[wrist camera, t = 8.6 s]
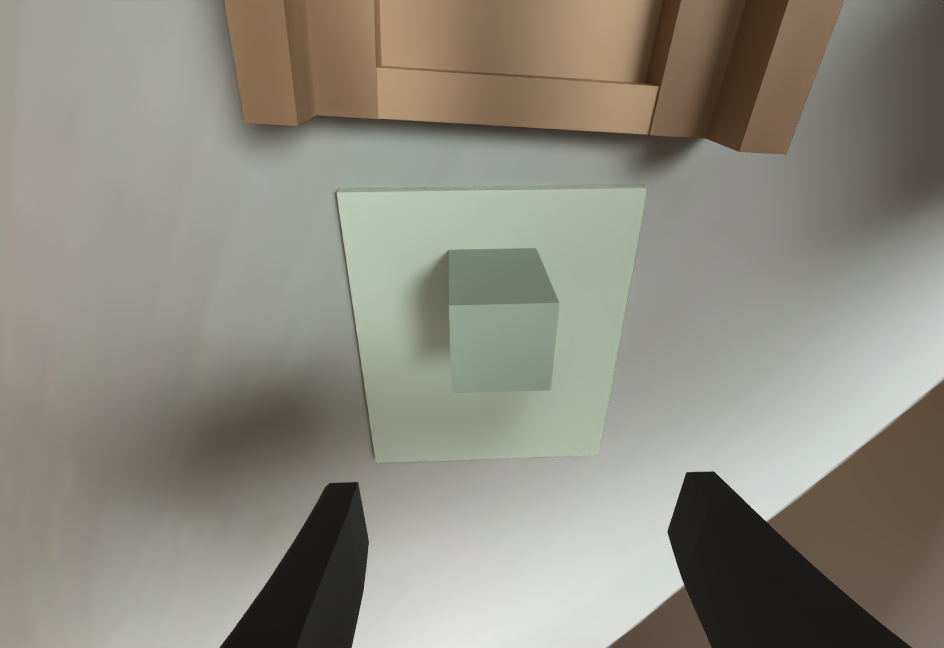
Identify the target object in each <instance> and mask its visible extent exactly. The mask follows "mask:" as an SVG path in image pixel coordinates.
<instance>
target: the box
mask: <svg viewBox="0 0 944 648" xmlns="http://www.w3.org/2000/svg"><path fill="white" fill-rule="evenodd" d="M843 2H844V0H224V4H225V10H226V16H227V22H228V28H229V34H230V40H231V46H232V52H233V58H234V65H235V71H236V77H237V83H238V89H239V95H240V101H241V107H242V113H243V119H244V123H251V124H269V125H286V126H299V125H301V124H302V123H304V122H306V121H307V120H309V119H311V118H313V117H314V116H316V115H319V116H335V117H352V118H369V119H378V118H379V119H395V120H412V121H429V122H446V123H463V124H479V125H496V126H513V127H530V128H547V129H563V130H580V131H597V132H614V133H631V134H647V135H655V136H672V137H689V138H705V139H708V140H711V141H713V142H716V143H718V144H721V145H724V146H726V147H729V148H731V149H734V150H736V151H739V152H753V153H770V154H786V153H787V151H788V148H789V145H790V143H791V140H792V137H793V135H794V132H795V129H796V127H797V124H798V121H799V119H800V116H801V113H802V111H803V108H804V105H805V103H806V100H807V97H808V95H809V92H810V90H811V87H812V84H813V82H814V79H815V76H816V74H817V71H818V68H819V66H820V63H821V60H822V58H823V55H824V52H825V50H826V47H827V44H828V42H829V39H830V36H831V34H832V31H833V28H834V26H835V23H836V20H837V18H838V15H839V13H840V10H841V7H842V5H843Z"/></svg>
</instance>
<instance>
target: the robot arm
mask: <svg viewBox="0 0 944 648" xmlns="http://www.w3.org/2000/svg"><path fill="white" fill-rule="evenodd" d="M668 536H669V539H670V542H671V546H672V549H673V552H674V556H675V559H676V562H677V565H678V568H679V571H680V574H681V577H682V580H683V583H684V585H685V587H686V590H687V592H688V594H689V596H690V599H691V601H692V603H693V606H694V608H695V610H696V613H697V615H698V617H699V620H700V622H701V624H702V626H703V629H704V631H705V633H706V635H707V638H708V640H709V642H710V644H711V647H712V648H912V647H911V646H909V645H908V644H907V643H905V642H904V641H902V640H901V639H900V638H899V637H898V636H896V635H895V634H894V633H892V632H891V631H890V630H888V629H887V628H886V627H885V626H884V625H882V624H881V623H880V622H879V621H877V620H876V619H875V618H874V617H873V616H871V615H870V614H869V613H868V612H866V611H865V610H864V609H863V608H862V607H861V606H859V605H858V604H857V603H856V602H854V600H852V599H851V598H850V597H849V596H848V595H846V594H845V593H844V592H843V591H842V590H841V589H839V588H838V587H837V586H836V585H835V584H834V583H832V582H831V581H830V580H829V579H828V578H827V577H826V576H824V575H823V574H822V573H821V572H820V571H819V570H817V568H815V567H814V566H813V565H812V564H811V563H810V562H808V560H807V559H805V558H804V557H803V556H802V555H801V554H800V553H799V552H798V551H797V550H796V549H795V548H793V547H792V546H791V545H790V544H789V543H788V542H787V541H786V540H785V539H784V538H783V537H782V536H781V535H780V534H778V533H777V532H776V531H775V530H774V529H773V528H772V527H771V526H770V525H769V524H768V523H767V522H766V521H765V520H764V519H763V518H762V517H761V516H760V515H759V514H757V513H756V512H755V511H754V510H753V509H752V508H751V507H750V506H749V505H748V504H747V503H746V502H745V501H744V500H743V499H742V498H741V497H740V496H739V495H738V494H737V493H736V492H735V491H734V490H733V489H732V488H731V487H730V486H729V485H727V484H726V483H725V482H724V481H723V480H722V479H721V478H720V477H719V476H718V475H717V474H716V473H715V472H686V475H685V478H684V482H683V485H682V488H681V491H680V494H679V497H678V500H677V503H676V507H675V510H674V513H673V516H672V519H671V522H670V525H669V528H668ZM368 545H369V540H368V535H367V529H366V524H365V518H364V512H363V507H362V501H361V496H360V490H359V485H358V482H348V483H329V484H328V485H327V486H326V487H325V489H324V490H323V492H322V494H321V496H320V498H319V500H318V501H317V503H316V505H315V507H314V508H313V510H312V512H311V514H310V515H309V517H308V519H307V520H306V522H305V524H304V526H303V527H302V529H301V530H300V532H299V534H298V535H297V537H296V539H295V540H294V542H293V543H292V545H291V547H290V548H289V550H288V551H287V553H286V554H285V556H284V557H283V559H282V560H281V562H280V563H279V565H278V567H277V568H276V570H275V571H274V573H273V574H272V576H271V577H270V579H269V580H268V582H267V583H266V585H265V586H264V588H263V589H262V590H261V592H260V593H259V595H258V596H257V597H256V599H255V600H254V602H253V603H252V604H251V606H250V607H249V609H248V610H247V611H246V613H245V614H244V615H243V617H242V618H241V620H240V621H239V622H238V624H237V625H236V627H235V628H234V629H233V631H232V632H231V633H230V635H229V636H228V637H227V639H226V640H225V641H224V642H223V644H222V645H221V646H220V648H352V643H353V638H354V634H355V629H356V624H357V620H358V615H359V610H360V605H361V600H362V595H363V590H364V581H365V573H366V564H367V554H368Z"/></svg>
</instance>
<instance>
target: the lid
mask: <svg viewBox="0 0 944 648" xmlns="http://www.w3.org/2000/svg"><path fill="white" fill-rule="evenodd" d="M647 189H648V188H647V187H646V186H644V185H570V186H494V187H419V188H343V189H339V190H338V191H337V192H336V193H337V200H338V207H339V214H340V221H341V227H342V234H343V241H344V248H345V255H346V262H347V269H348V276H349V283H350V289H351V296H352V303H353V310H354V317H355V324H356V331H357V338H358V344H359V351H360V358H361V365H362V372H363V379H364V386H365V393H366V400H367V406H368V413H369V420H370V427H371V434H372V441H373V448H374V455H375V461H376V463H393V462H422V461H451V460H480V459H509V458H539V457H568V456H597V455H599V453H600V448H601V442H602V437H603V431H604V425H605V420H606V414H607V409H608V403H609V398H610V392H611V387H612V381H613V376H614V370H615V365H616V359H617V354H618V348H619V343H620V337H621V332H622V326H623V321H624V315H625V310H626V304H627V299H628V293H629V288H630V282H631V277H632V271H633V266H634V260H635V255H636V249H637V244H638V238H639V233H640V227H641V222H642V216H643V211H644V205H645V200H646V194H647Z"/></svg>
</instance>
